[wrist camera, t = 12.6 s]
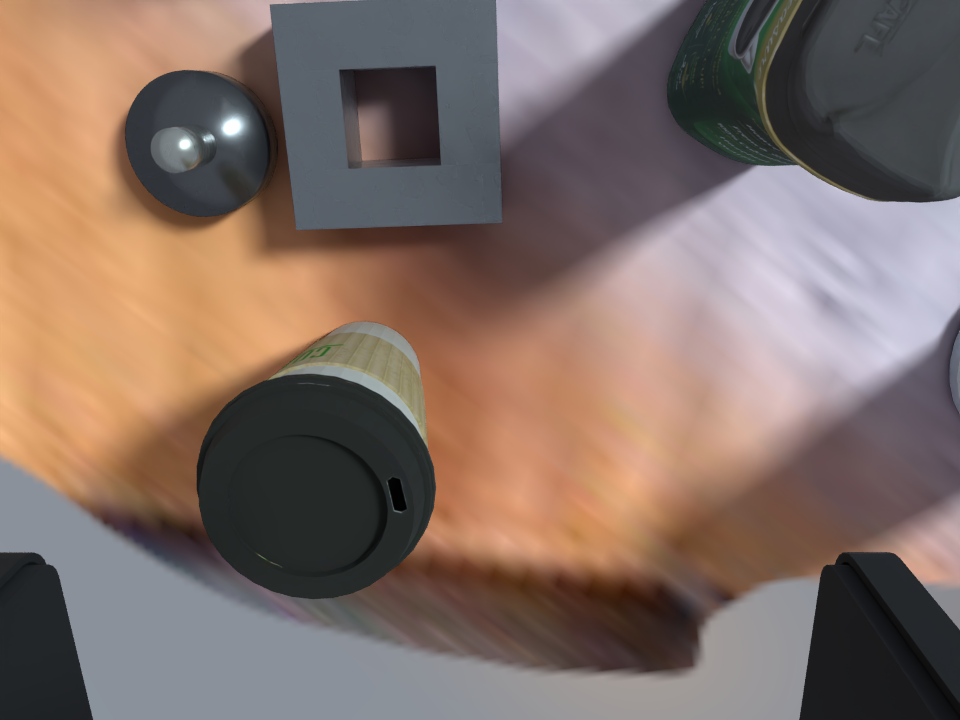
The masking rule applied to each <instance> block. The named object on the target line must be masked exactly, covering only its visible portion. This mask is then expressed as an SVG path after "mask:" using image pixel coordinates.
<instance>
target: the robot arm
mask: <svg viewBox="0 0 960 720" xmlns="http://www.w3.org/2000/svg"><path fill="white" fill-rule="evenodd" d="M950 387H951V392H952V397H953V401H954V403H955V406H956V408H957V410H958V412H959V414H960V331H959V333H958V335H957V338H956V340H955V342H954V347H953V351H952V356H951V360H950ZM0 720H93V718H92V714H91V709H90V705H89V701H88V697H87V693H86V689H85V684H84V680H83V676H82V672H81V668H80V663H79V659H78V655H77V651H76V646H75V642H74V638H73V634H72V629H71V625H70V622H69V617H68V613H67V608H66V604H65V600H64V596H63V592H62V587H61V583H60V579H59V575H58V573H57V571H56V569H55V568H54V567H53V566H51V565H46V563H45V560H44V559H43V558H42V557H41V556H40V555H39V554H36V553H0ZM799 720H960V630H959V629H958V627H957V626H956V625H955V624H954V623H953V622H952V620H951V619H950V618H949V617H948V615H947V614H946V613H945V612H944V611H943V609H942V608H941V607H940V606H939V605H938V603H937V602H936V601H935V600H934V599H933V597H932V596H931V595H930V594H929V593H928V591H927V590H926V589H925V588H924V587H923V585H922V584H921V583H920V582H919V581H918V579H917V578H916V577H915V576H914V575H913V573H912V572H911V571H910V570H909V569H908V567H907V566H906V565H905V564H904V563H903V561H902V560H901V559H900V558H899V557H898V556H897V555H896V554H894V553H889V552H844V553H842V554H840V555H839V557H838V558H837V560H836V563H835V565H826V566H824V568H823V570H822V572H821V577H820V583H819V590H818V597H817V604H816V611H815V617H814V624H813V631H812V638H811V645H810V651H809V658H808V665H807V672H806V679H805V686H804V692H803V699H802V707H801V713H800V719H799Z"/></svg>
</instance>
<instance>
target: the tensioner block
mask: <svg viewBox="0 0 960 720" xmlns="http://www.w3.org/2000/svg"><path fill="white" fill-rule="evenodd" d="M270 12H271V20H272V28H273V37H274V45H275V54H276V62H277V71H278V79H279V88H280V96H281V104H282V113H283V121H284V130H285V138H286V147H287V155H288V164H289V172H290V181H291V189H292V197H293V206H294V214H295V223H296V230H313V229H341V228H369V227H397V226H426V225H454V224H482V223H502V196H501V161H500V127H499V92H498V58H497V23H496V0H363V1H340V2H318V3H295V4H273V5H270ZM432 67H436V81H437V99H438V118H439V136H440V155H441V158H423V159H396V160H370V161H362V157H361V145H360V134H359V123H358V111H357V100H356V88H355V77H354V71H360V70H384V69H408V68H432Z"/></svg>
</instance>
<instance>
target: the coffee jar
mask: <svg viewBox="0 0 960 720" xmlns="http://www.w3.org/2000/svg"><path fill="white" fill-rule="evenodd" d="M667 97H668V104H669V108H670V110H671V113H672V115H673V117H674V118H675V120H676V122H677V123H678V124H679V125H680V127H681V128H682V129H683V130H685V131H686V132H687V133H688V134H689V135H690V136H692V137H693V138H695V139H696V140H698V141H699V142H701V143H702V144H704V145H705V146H707V147H708V148H710V149H712V150H714V151H716V152H717V153H719V154H721V155H723V156H726V157H728V158H730V159H733V160H736V161H739V162H743V163H747V164H753V165H764V166H781V165H799V166H801V167H802V168H804V169H805V170H806V171H808V172H809V173H811V174H812V175H814V176H816V177H817V178H819V179H821V180H823V181H825V182H826V183H828V184H830V185H832V186H835V187H837V188H839V189H841V190H843V191H846V192H848V193H851V194H854V195H856V196H859V197H862V198H865V199H869V200H874V201H882V202H889V201H896V202H934V201H943V200H949V199H953V198H957V197H959V196H960V0H707V1H706V3H705V4H704V6H703V7H702V9H701V11H700V12H699V14H698V16H697V18H696V19H695V21H694V23H693V24H692V26H691V28H690V30H689V32H688V34H687V35H686V37H685V39H684V41H683V43H682V46H681V48H680V50H679V52H678V54H677V57H676V59H675V62H674V64H673V66H672V69H671V72H670V75H669V79H668V84H667Z"/></svg>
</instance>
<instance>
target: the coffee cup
mask: <svg viewBox="0 0 960 720" xmlns="http://www.w3.org/2000/svg"><path fill="white" fill-rule="evenodd" d="M197 492H198V497H199V507H200V512H201V516H202V521H203V524H204V527H205V529H206V531H207V533H208V535H209V538H210V540H211V542H212V543H213V545H214V546H215V547H216V549H217V550H218V552H219V553H220V554H221V556H222V557H223V558H224V559H225V560H226V561H227V562H228V563H229V564H230V565H231V566H232V567H233V568H234V569H235V570H236V571H237V572H239V573H240V574H242V575H243V576H245V577H246V578H248V579H249V580H251V581H252V582H254V583H256V584H258V585H260V586H262V587H264V588H266V589H269V590H271V591H273V592H277V593H281V594H284V595H288V596H291V597H299V598H308V599H321V598H334V597H338V596H343V595H347V594H351V593H354V592H356V591H358V590H361V589H363V588H365V587H368V586H370V585H371V584H373V583H374V582H376V581H377V580H379V579H380V578H381V577H383V576H384V575H385V574H386V573H388V572H389V571H391V570H392V569H394V568H395V567H397V566H398V565H399V564H400V563H401V562H402V561H403V560H404V559H405V558H406V557H407V556H408V555H409V554H410V553H411V552H412V551H413V550H414V548H415V546H416V545H417V543H418V542H419V540H420V538H421V537H422V535H423V534H424V532H425V530H426V528H427V526H428V523H429V520H430V517H431V514H432V512H433V509H434V501H435V492H436V483H435V474H434V466H433V463H432V460H431V457H430V454H429V451H428V443H427V429H426V415H425V401H424V391H423V385H422V382H421V377H420V366H419V362H418V359H417V356H416V354H415V352H414V350H413V348H412V347H411V345H410V344H409V343H408V342H407V341H406V339H405V338H404V337H403V336H401V335H400V334H399V333H398V332H396V331H395V330H393V329H391V328H389V327H387V326H385V325H382V324H378V323H374V322H366V321H364V322H353V323H349V324H345V325H343V326H341V327H339V328H337V329H335V330H334V331H332V332H331V333H330V334H328V335H327V336H326V337H325V338H323V339H321V340H319V341H317V342H315V343H314V344H312V345H311V346H310V347H309V348H307V349H306V350H305V351H304V352H302V353H301V354H300V355H299V356H297V357H296V358H295V359H293V360H292V361H291V362H290V363H288V364H287V365H286V366H285V367H283V368H282V369H281V370H279V371H278V372H277V373H276V374H274V375H273V376H272V377H271V378H269V379H268V380H266V381H263V382H261V383H259V384H257V385H255V386H253V387H251V388H249V389H247V390H245V391H243V392H242V393H240V394H239V395H238V396H237V397H235V398H234V399H233V400H232V401H230V402H229V403H228V404H226V406H225V407H224V408H223V409H222V410H221V412H220V413H219V414H218V415H217V417H216V418H215V419H214V420H213V422H212V424H211V426H210V428H209V430H208V432H207V434H206V436H205V438H204V440H203V443H202V446H201V450H200V454H199V459H198V463H197Z"/></svg>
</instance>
